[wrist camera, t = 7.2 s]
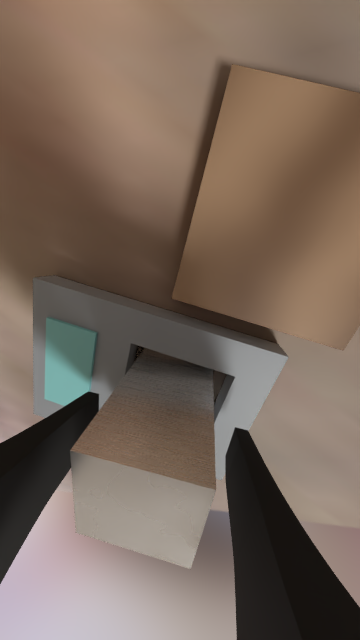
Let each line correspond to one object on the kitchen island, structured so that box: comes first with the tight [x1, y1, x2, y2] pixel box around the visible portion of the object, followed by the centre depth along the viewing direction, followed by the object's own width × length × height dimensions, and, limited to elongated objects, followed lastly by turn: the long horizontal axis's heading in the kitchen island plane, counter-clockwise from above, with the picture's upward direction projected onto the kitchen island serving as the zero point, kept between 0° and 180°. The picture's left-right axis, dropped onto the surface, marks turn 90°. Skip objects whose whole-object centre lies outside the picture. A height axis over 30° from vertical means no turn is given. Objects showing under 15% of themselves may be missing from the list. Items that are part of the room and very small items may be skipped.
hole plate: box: [33, 275, 288, 480], centre depth 12 cm, size 14×10×2 cm
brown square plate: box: [171, 64, 360, 350], centre depth 9 cm, size 9×9×1 cm
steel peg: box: [70, 348, 216, 569], centre depth 9 cm, size 4×4×7 cm
